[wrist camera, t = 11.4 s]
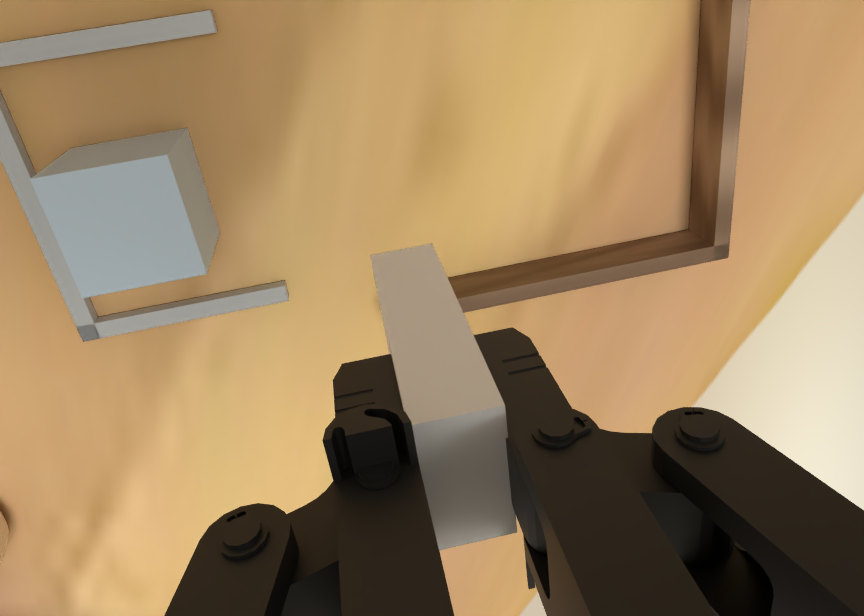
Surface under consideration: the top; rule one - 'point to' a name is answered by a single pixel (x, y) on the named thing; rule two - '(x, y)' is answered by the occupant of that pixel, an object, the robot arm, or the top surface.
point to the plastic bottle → (3, 535)
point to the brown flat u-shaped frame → (709, 188)
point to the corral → (8, 147)
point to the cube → (129, 212)
